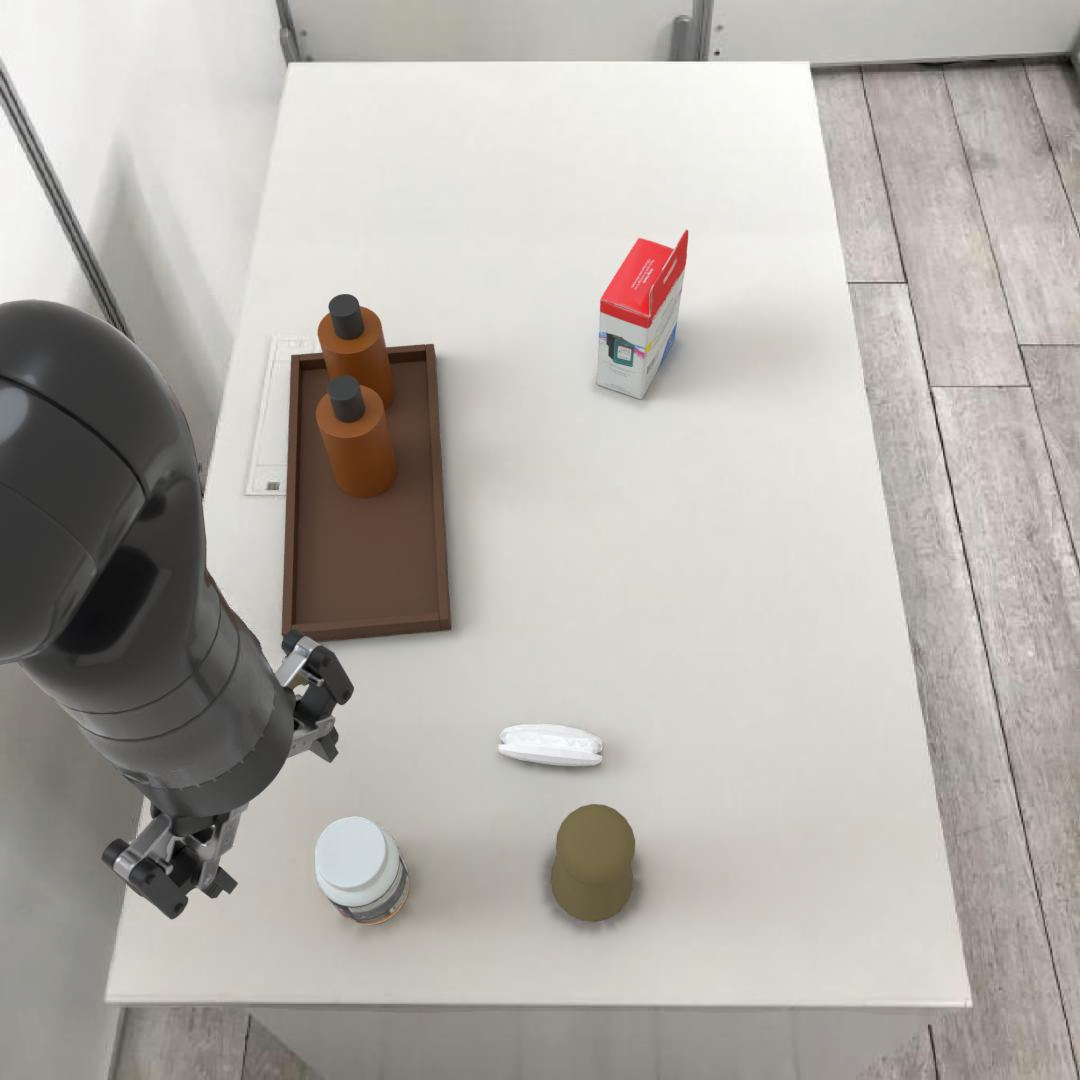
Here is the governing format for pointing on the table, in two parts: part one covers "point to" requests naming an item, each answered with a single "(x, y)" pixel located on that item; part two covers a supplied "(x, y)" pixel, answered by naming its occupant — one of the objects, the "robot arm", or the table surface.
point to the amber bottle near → (356, 438)
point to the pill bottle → (361, 870)
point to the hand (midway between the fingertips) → (272, 813)
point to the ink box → (640, 316)
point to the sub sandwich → (551, 744)
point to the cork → (593, 863)
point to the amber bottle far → (356, 346)
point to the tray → (366, 516)
